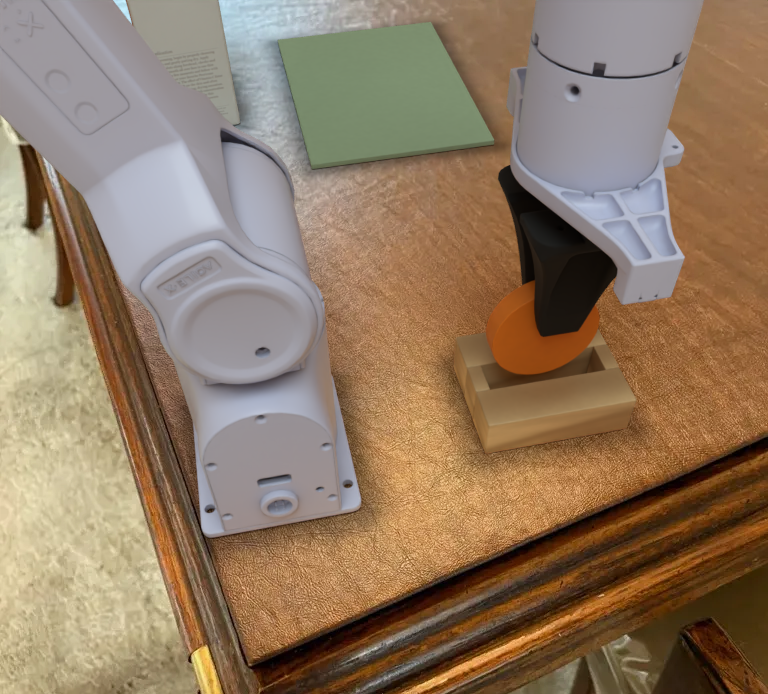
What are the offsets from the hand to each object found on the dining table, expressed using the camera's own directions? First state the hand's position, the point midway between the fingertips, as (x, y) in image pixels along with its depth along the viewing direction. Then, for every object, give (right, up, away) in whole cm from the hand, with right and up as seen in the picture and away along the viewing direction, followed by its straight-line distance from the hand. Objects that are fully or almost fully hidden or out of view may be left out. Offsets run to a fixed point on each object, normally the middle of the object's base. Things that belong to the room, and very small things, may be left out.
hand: (552, 317), depth 40 cm
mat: (-9, +23, +26) cm, 36 cm away
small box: (-24, +21, +25) cm, 40 cm away
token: (0, 0, 0) cm, 1 cm away
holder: (0, -4, +5) cm, 6 cm away
